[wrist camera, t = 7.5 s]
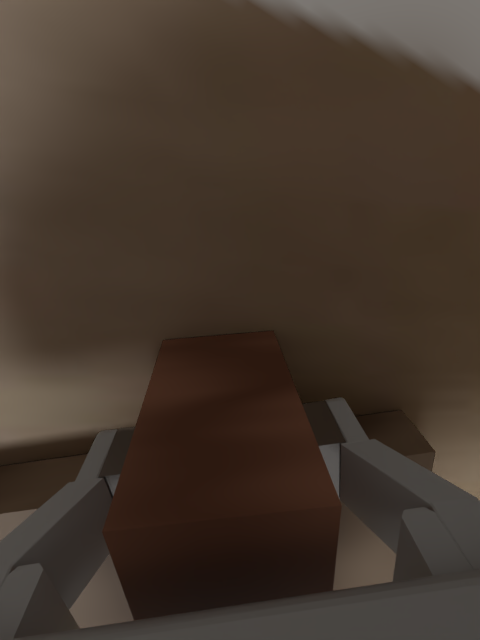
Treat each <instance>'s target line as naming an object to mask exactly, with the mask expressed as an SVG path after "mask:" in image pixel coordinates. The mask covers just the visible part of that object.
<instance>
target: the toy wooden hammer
mask: <svg viewBox="0 0 480 640" xmlns="http://www.w3.org/2000/svg"><path fill="white" fill-rule="evenodd" d="M341 508H342V505H341V502H340V500H339V497H338V495H337V492H336V489H335V487H334V484H333V482H332V479H331V477H330V474H329V472H328V469H327V467H326V464H325V461H324V459H323V456H322V454H321V451H320V449H319V446H318V444H317V441H316V438H315V436H314V433H313V431H312V428H311V426H310V423H309V421H308V418H307V415H306V413H305V410H304V408H303V405H302V403H301V400H300V398H299V395H298V392H297V390H296V387H295V385H294V382H293V380H292V377H291V375H290V372H289V369H288V367H287V364H286V362H285V359H284V357H283V354H282V352H281V349H280V346H279V344H278V341H277V339H276V336H275V334H274V331H263V332H251V333H240V334H228V335H216V336H205V337H193V338H181V339H170V340H163V342H162V345H161V348H160V351H159V355H158V358H157V361H156V364H155V367H154V370H153V373H152V376H151V380H150V383H149V386H148V389H147V392H146V395H145V398H144V402H143V405H142V408H141V411H140V414H139V417H138V420H137V424H136V427H135V430H134V433H133V436H132V439H131V442H130V446H129V449H128V452H127V455H126V458H125V461H124V464H123V468H122V471H121V474H120V477H119V480H118V483H117V486H116V490H115V493H114V496H113V499H112V502H111V505H110V508H109V512H108V515H107V518H106V521H105V524H104V527H103V530H102V533H103V536H104V539H105V542H106V544H107V547H108V550H109V553H110V555H111V558H112V561H113V564H114V566H115V569H116V572H117V575H118V577H119V580H120V583H121V586H122V588H123V591H124V594H125V597H126V599H127V602H128V605H129V608H130V610H131V613H132V616H133V619H134V621H135V620H141V619H148V618H154V617H161V616H168V615H174V614H181V613H187V612H194V611H201V610H207V609H214V608H221V607H227V606H234V605H240V604H247V603H254V602H260V601H267V600H274V599H280V598H287V597H294V596H300V595H307V594H314V593H321V592H327V591H333V584H334V575H335V565H336V556H337V546H338V536H339V527H340V517H341Z"/></svg>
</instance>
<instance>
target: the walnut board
mask: <svg viewBox="0 0 480 640" xmlns="http://www.w3.org/2000/svg"><path fill="white" fill-rule="evenodd" d="M356 419H357V420H358V422H359V424H360V425H361V427H362V429H363V430H364V432H365V434H366V435H367V437H368V439H369V440H371V439H376V440H377V441H379V442H381V443H383V444H384V445H386V446H388V447H390V448H391V449H393V450H395V451H396V452H398V453H400V454H402V455H403V456H405V457H407V458H409V459H410V460H412V461H414V462H416V463H417V464H419V465H421V466H422V467H424V468H426V469H428V470H429V471H431V472H432V467H433V462H434V457H435V451H434V449H433V448H432V447H431V446H430V444H429V443H428V442H427V441H426V439H425V438H424V437H423V436H422V435H421V433H420V432H419V431H418V430H417V428H416V427H415V426H414V425H413V423H412V422H411V421H410V420H409V419H408V417H407V416H406V415H405V414H404V412H403V411H402V410H399V411H391V412H384V413H377V414H370V415H363V416H356ZM87 455H88V454H84V455H77V456H70V457H63V458H56V459H49V460H41V461H34V462H27V463H20V464H13V465H6V466H0V541H1V540H2V539H3V538H5V537H6V536H7V535H8V534H9V533H10V532H12V531H13V530H14V529H15V528H16V527H17V526H19V525H20V524H21V523H22V522H23V521H24V520H26V519H27V518H28V517H29V516H30V515H31V514H33V513H34V512H35V511H36V510H37V509H38V508H40V507H41V506H42V505H43V504H44V503H45V502H47V501H48V500H49V499H50V498H51V497H52V496H54V495H55V494H56V493H57V492H58V491H59V490H61V489H62V488H63V487H64V486H65V485H66V484H68V483H69V482H75V480H76V478H77V476H78V474H79V471H80V469H81V467H82V465H83V463H84V461H85V459H86V457H87ZM339 500H340V498H339ZM340 502H341V505H342V508H341V517H340V527H339V536H338V546H337V556H336V565H335V575H334V584H333V591H334V590H341V589H347V588H354V587H361V586H367V585H374V584H381V583H387V582H393V575H394V568H395V561H396V554H395V553H394V552H393V551H392V550H391V549H390V548H389V547H388V546H387V545H386V544H385V543H384V542H383V541H382V540H381V539H380V538H379V537H378V536H377V535H376V534H375V533H374V532H373V531H372V530H371V529H370V528H369V527H367V526H366V525H365V524H364V523H363V522H362V521H361V520H360V519H359V518H358V517H357V516H356V515H355V514H354V513H353V512H352V511H351V510H350V509H349V508H348V507H347V506H346V505H345V504H344V503H343V502H342V501H341V500H340ZM69 611H70V613H71V614H72V616H73V617H74V619H75V621H76V622H77V624H78V625H79V627H80V629H81V628H88V627H94V626H101V625H108V624H114V623H121V622H128V621H134V619H133V616H132V613H131V610H130V608H129V605H128V602H127V599H126V597H125V594H124V591H123V588H122V586H121V583H120V580H119V577H118V575H117V572H116V569H115V566H114V564H113V561H112V558H111V555H110V553H109V555H108V556H107V558H106V559H105V560H104V562H103V563H102V565H101V566H100V567H99V569H98V570H97V572H96V573H95V574H94V576H93V577H92V579H91V580H90V581H89V583H88V584H87V586H86V587H85V588H84V590H83V591H82V593H81V594H80V595H79V597H78V598H77V600H76V601H75V602H74V604H73V605H72V607H71V608H70V609H69Z"/></svg>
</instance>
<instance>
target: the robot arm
mask: <svg viewBox="0 0 480 640" xmlns="http://www.w3.org/2000/svg"><path fill="white" fill-rule="evenodd" d="M302 405H303V408H304V410H305V413H306V415H307V418H308V421H309V423H310V426H311V428H312V431H313V433H314V436H315V438H316V441H317V444H318V446H319V449H320V451H321V454H322V456H323V459H324V461H325V464H326V467H327V469H328V472H329V474H330V477H331V479H332V482H333V484H334V487H335V489H336V492H337V495H338V497H339V498H340V500H341V501H342V502H343V503H344V504H345V505H346V506H347V507H348V508H349V509H350V510H351V511H352V512H353V513H354V514H355V515H356V516H357V517H358V518H359V519H360V520H361V521H362V522H363V523H364V524H365V525H366V526H367V527H369V528H370V529H371V530H372V531H373V532H374V533H375V534H376V535H377V536H378V537H379V538H380V539H381V540H382V541H383V542H384V543H385V544H386V545H387V546H388V547H389V548H390V549H391V550H392V551H393V552H394V553H395V554H396V561H395V568H394V575H393V582H387V583H381V584H374V585H367V586H361V587H354V588H347V589H341V590H334V591H327V592H321V593H314V594H307V595H300V596H294V597H287V598H280V599H274V600H267V601H260V602H254V603H247V604H240V605H234V606H227V607H221V608H214V609H207V610H201V611H194V612H187V613H181V614H174V615H168V616H161V617H154V618H148V619H141V620H135V621H128V622H121V623H114V624H108V625H101V626H94V627H88V628H81V629H80V627H79V625H78V624H77V622H76V621H75V619H74V617H73V616H72V614H71V613H70V611H69V609H70V608H71V607H72V605H73V604H74V602H75V601H76V600H77V598H78V597H79V595H80V594H81V593H82V591H83V590H84V588H85V587H86V586H87V584H88V583H89V581H90V580H91V579H92V577H93V576H94V574H95V573H96V572H97V570H98V569H99V567H100V566H101V565H102V563H103V562H104V560H105V559H106V558H107V556H108V555H109V550H108V547H107V544H106V542H105V539H104V536H103V533H102V530H103V527H104V524H105V521H106V518H107V515H108V512H109V508H110V505H111V502H112V499H113V496H114V493H115V490H116V486H117V483H118V480H119V477H120V474H121V471H122V468H123V464H124V461H125V458H126V455H127V452H128V449H129V446H130V442H131V439H132V436H133V433H134V430H135V427H136V426H135V427H127V428H120V429H112V430H104V431H101V432H99V433H98V434H97V436H96V438H95V440H94V442H93V444H92V446H91V448H90V450H89V452H88V455H87V457H86V459H85V461H84V463H83V465H82V467H81V469H80V471H79V474H78V476H77V478H76V480H75V482H69V483H68V484H66V485H65V486H64V487H63V488H62V489H61V490H59V491H58V492H57V493H56V494H55V495H54V496H52V497H51V498H50V499H49V500H48V501H47V502H45V503H44V504H43V505H42V506H41V507H40V508H38V509H37V510H36V511H35V512H34V513H33V514H31V515H30V516H29V517H28V518H27V519H26V520H24V521H23V522H22V523H21V524H20V525H19V526H17V527H16V528H15V529H14V530H13V531H12V532H10V533H9V534H8V535H7V536H6V537H5V538H3V539H2V540H1V541H0V640H480V501H479V500H478V499H477V498H476V497H474V496H473V495H471V494H469V493H467V492H466V491H464V490H462V489H461V488H459V487H457V486H455V485H454V484H452V483H450V482H448V481H447V480H445V479H443V478H441V477H440V476H438V475H436V474H435V473H433V472H431V471H429V470H428V469H426V468H424V467H422V466H421V465H419V464H417V463H416V462H414V461H412V460H410V459H409V458H407V457H405V456H403V455H402V454H400V453H398V452H396V451H395V450H393V449H391V448H390V447H388V446H386V445H384V444H383V443H381V442H379V441H377V440H376V439H371V440H369V439H368V437H367V435H366V434H365V432H364V430H363V429H362V427H361V425H360V424H359V422H358V420H357V419H356V417H355V415H354V414H353V412H352V410H351V409H350V407H349V405H348V404H347V402H346V400H345V399H344V398H342V397H340V398H334V399H328V400H324V401H317V402H310V403H304V404H302Z"/></svg>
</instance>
